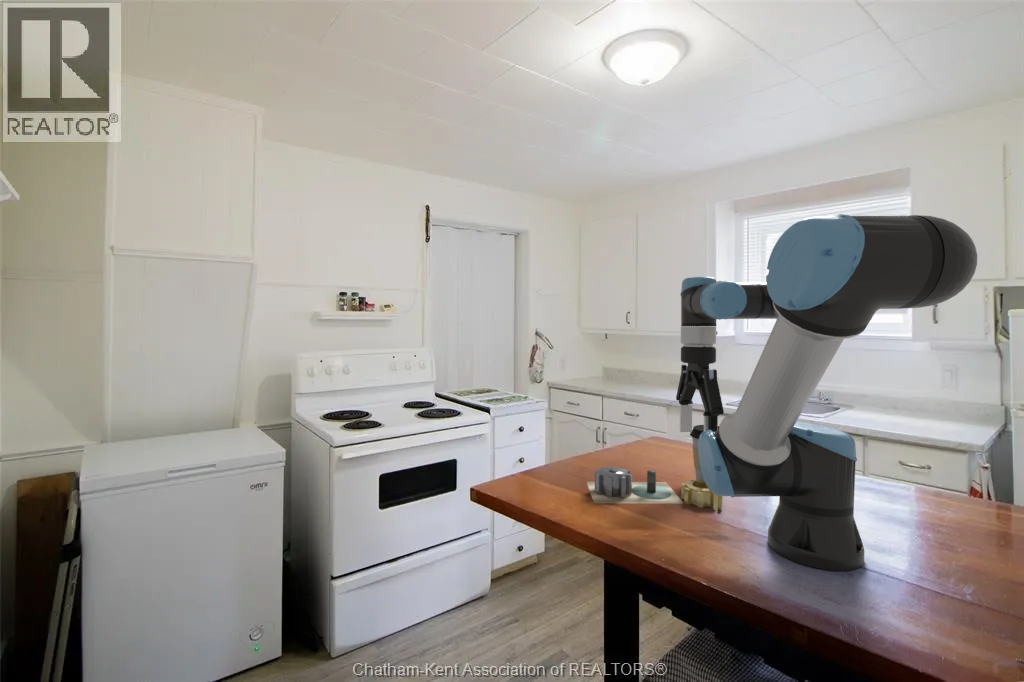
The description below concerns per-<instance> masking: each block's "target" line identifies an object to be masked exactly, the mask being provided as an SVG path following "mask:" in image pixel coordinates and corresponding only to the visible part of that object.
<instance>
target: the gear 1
mask: <svg viewBox="0 0 1024 682" xmlns="http://www.w3.org/2000/svg"><path fill="white" fill-rule="evenodd" d="M610 469H616V470H618V472H615V473H613V472H609V470H610ZM594 482H595V489H596V492H597V493H598V494H602V495H605V496H607V497H626V495H627V494H631V493H632V482H633V474H632V473H631V470H629V469H625V468H623V467H619V466H603V467H600V468H599V469H597V468H596V469H595V470H594Z"/></svg>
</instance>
